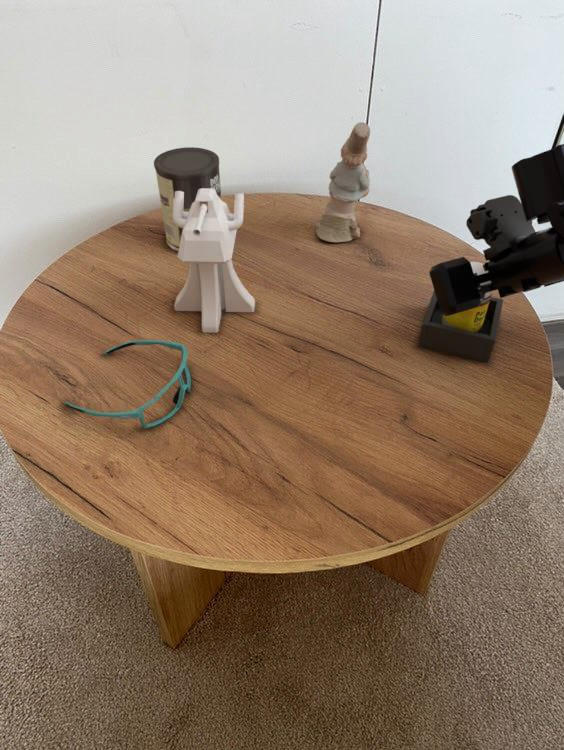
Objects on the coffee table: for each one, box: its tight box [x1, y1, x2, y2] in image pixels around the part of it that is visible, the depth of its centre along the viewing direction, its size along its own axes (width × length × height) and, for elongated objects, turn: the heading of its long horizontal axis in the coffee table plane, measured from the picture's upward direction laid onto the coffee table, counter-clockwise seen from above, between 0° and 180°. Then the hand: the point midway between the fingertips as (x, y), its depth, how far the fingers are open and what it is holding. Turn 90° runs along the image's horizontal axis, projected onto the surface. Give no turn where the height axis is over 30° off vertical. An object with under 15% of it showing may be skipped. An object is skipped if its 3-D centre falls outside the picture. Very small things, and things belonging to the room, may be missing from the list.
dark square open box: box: [417, 290, 504, 363], centre depth 82 cm, size 10×10×4 cm
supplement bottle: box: [441, 261, 494, 333], centre depth 79 cm, size 6×6×10 cm
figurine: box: [314, 122, 371, 243], centre depth 96 cm, size 9×8×20 cm
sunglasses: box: [64, 339, 192, 429], centre depth 74 cm, size 14×15×5 cm
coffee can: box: [153, 146, 222, 253], centre depth 97 cm, size 10×10×14 cm
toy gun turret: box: [173, 188, 256, 334], centre depth 81 cm, size 12×13×18 cm
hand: (464, 287), depth 79 cm, fingers closed on supplement bottle, 5 cm apart
